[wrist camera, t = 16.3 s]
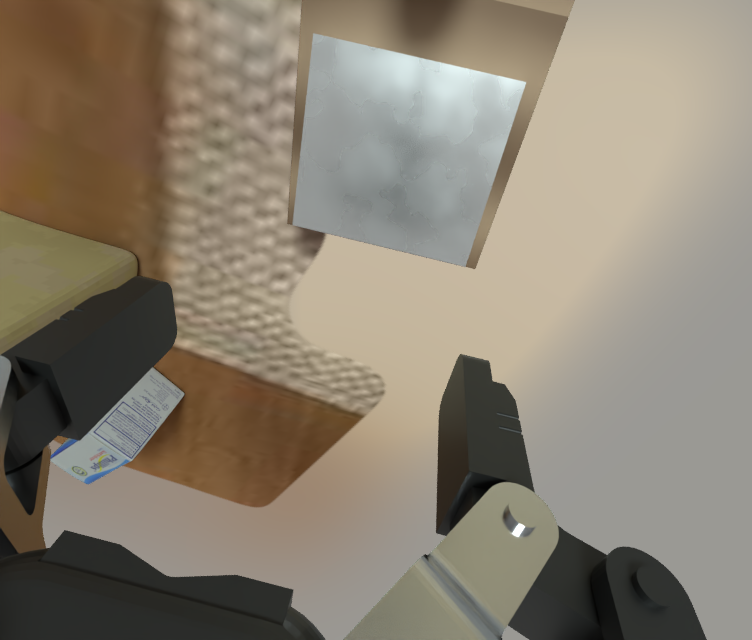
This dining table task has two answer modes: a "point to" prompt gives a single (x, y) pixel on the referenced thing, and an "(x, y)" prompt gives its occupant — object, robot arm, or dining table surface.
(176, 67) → the dining table surface
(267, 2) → the dining table surface
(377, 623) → the robot arm
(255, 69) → the dining table surface
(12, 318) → the cheese
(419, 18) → the walnut block
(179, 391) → the medicine box
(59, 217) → the dining table surface
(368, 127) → the steel flap
